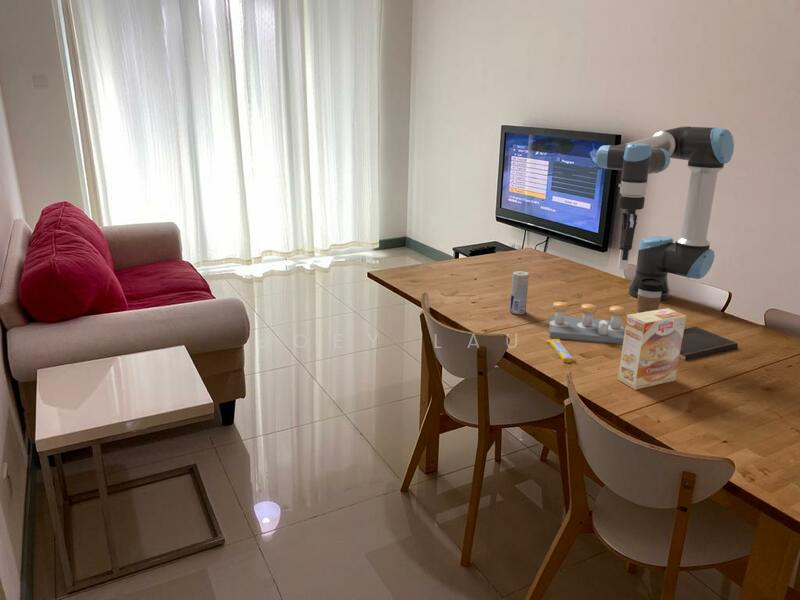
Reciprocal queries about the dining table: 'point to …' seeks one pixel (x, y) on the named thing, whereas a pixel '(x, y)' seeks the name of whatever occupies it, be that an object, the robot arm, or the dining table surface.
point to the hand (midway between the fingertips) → (622, 268)
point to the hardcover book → (703, 344)
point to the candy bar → (561, 350)
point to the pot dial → (603, 328)
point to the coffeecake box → (651, 348)
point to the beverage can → (519, 292)
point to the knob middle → (588, 314)
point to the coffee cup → (649, 294)
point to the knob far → (560, 311)
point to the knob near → (616, 316)
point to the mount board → (584, 330)
